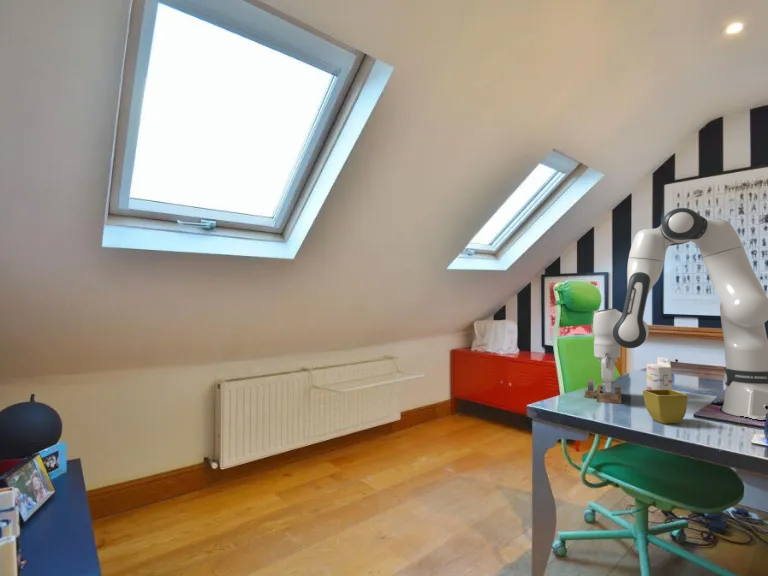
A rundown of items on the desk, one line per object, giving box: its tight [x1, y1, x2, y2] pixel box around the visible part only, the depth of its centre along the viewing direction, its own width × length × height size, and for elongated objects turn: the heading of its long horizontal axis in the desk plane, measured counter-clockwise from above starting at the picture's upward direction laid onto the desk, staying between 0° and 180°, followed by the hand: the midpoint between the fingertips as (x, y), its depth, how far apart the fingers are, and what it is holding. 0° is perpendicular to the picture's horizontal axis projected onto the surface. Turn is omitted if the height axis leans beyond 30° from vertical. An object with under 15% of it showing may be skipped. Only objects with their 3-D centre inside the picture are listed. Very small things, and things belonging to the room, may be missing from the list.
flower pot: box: [642, 389, 689, 425], centre depth 130 cm, size 9×9×9 cm
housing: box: [584, 384, 622, 405], centre depth 164 cm, size 12×18×3 cm
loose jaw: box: [602, 382, 616, 394], centre depth 159 cm, size 4×4×6 cm
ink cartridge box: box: [645, 355, 673, 390], centre depth 164 cm, size 9×5×15 cm, turn 179°
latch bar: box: [587, 378, 595, 392], centre depth 171 cm, size 2×6×6 cm, turn 151°
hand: (608, 389), depth 159 cm, fingers open, 8 cm apart
